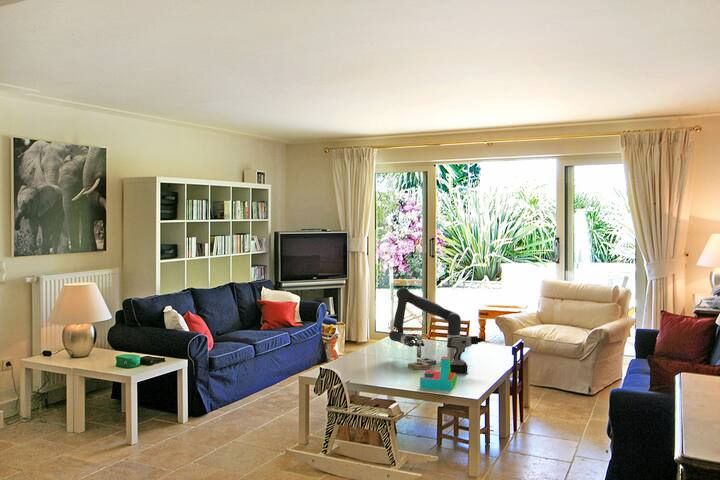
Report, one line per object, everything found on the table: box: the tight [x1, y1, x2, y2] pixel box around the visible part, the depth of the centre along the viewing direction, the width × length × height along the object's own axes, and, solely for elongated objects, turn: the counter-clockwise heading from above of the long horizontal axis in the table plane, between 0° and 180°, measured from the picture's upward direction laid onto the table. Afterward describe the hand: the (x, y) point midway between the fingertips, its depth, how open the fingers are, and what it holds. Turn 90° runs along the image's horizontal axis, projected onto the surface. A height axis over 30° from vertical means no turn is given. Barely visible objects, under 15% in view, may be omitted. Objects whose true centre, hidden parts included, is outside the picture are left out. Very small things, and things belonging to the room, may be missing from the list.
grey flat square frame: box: [416, 357, 437, 365], centre depth 436 cm, size 10×10×2 cm
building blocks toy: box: [419, 356, 457, 392], centre depth 380 cm, size 19×25×18 cm
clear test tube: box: [416, 333, 423, 359], centre depth 422 cm, size 3×3×16 cm
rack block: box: [407, 361, 432, 371], centre depth 422 cm, size 12×10×2 cm
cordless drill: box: [446, 335, 485, 375], centre depth 409 cm, size 8×24×25 cm, turn 78°
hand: (421, 345), depth 419 cm, fingers closed on clear test tube, 3 cm apart
